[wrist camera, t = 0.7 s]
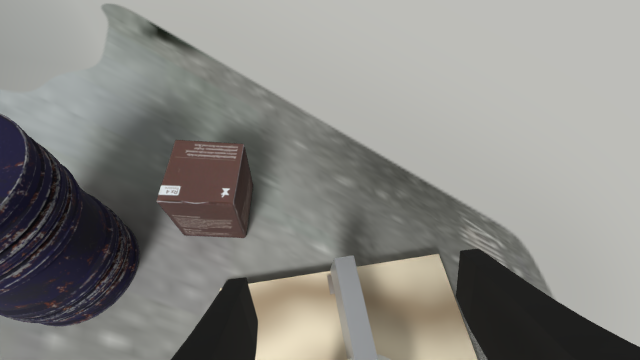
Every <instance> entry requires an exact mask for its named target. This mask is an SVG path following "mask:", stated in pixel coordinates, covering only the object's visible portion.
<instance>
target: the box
mask: <svg viewBox="0 0 640 360" xmlns="http://www.w3.org/2000/svg"><path fill="white" fill-rule="evenodd" d="M252 190H253V182H252V178H251V173H250V169H249V164H248V159H247V155H246V151H245V147H244V144H236V143H219V142H202V141H185V140H175V143H174V146H173V150H172V153H171V156H170V159H169V163H168V166H167V169H166V172H165V175H164V178H163V182H162V185H161V187H160V191H159V194H158V197H157V200H156V201H157V203H158V204H159V205H160V206H161V207H162V209H163V210H164V211H165V212H166V213H167V214H168V216H169V217H170V218H171V220H172V221H173V222H174V223H175V224H176V226H177V227H178V228H179V229H180V231H181V232H182V233H183V234H184V235H191V236H212V237H237V238H245V237H246V233H247V226H248V219H249V211H250V205H251V198H252Z"/></svg>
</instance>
